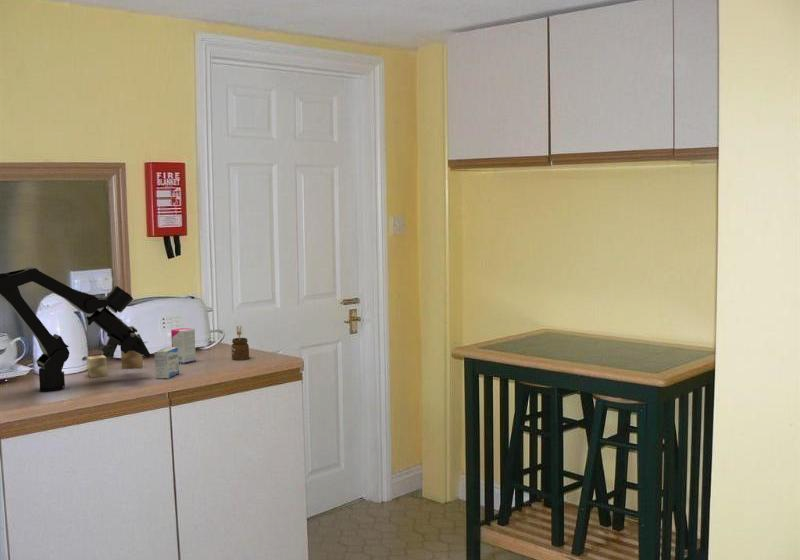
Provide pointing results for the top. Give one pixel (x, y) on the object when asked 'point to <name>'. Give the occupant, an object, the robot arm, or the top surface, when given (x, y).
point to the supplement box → (184, 344)
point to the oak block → (131, 360)
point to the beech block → (97, 366)
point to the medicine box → (166, 362)
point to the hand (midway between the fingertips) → (149, 356)
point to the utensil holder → (240, 347)
